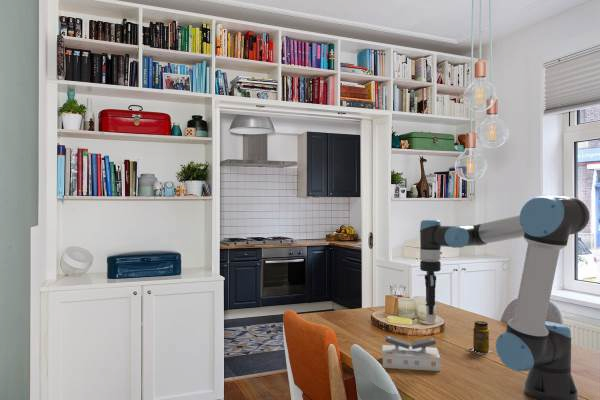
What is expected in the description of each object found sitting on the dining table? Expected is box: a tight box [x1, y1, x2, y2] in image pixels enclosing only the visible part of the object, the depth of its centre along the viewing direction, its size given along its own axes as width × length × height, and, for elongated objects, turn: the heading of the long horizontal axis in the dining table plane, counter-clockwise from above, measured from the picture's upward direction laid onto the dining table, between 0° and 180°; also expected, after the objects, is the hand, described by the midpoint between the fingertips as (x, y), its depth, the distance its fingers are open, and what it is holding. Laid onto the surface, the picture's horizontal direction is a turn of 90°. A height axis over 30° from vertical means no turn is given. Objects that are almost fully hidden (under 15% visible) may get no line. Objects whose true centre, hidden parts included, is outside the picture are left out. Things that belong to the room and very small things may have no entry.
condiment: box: [466, 320, 494, 356], centre depth 199 cm, size 7×8×12 cm
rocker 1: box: [384, 335, 411, 349], centre depth 184 cm, size 4×9×2 cm, turn 80°
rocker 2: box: [410, 337, 437, 349], centre depth 182 cm, size 4×9×2 cm, turn 80°
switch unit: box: [382, 344, 441, 372], centre depth 183 cm, size 12×21×7 cm, turn 80°
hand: (430, 322), depth 182 cm, fingers closed
